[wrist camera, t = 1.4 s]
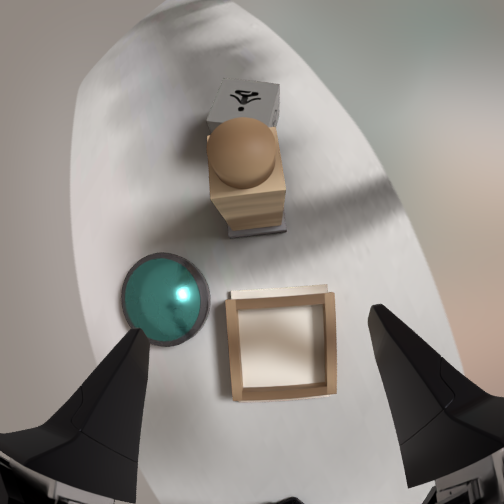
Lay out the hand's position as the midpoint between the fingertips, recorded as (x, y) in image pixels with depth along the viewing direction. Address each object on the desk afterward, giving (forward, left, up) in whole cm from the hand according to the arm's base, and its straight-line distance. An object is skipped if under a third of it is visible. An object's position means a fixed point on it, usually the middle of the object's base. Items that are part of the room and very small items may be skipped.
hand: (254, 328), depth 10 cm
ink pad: (+5, +7, -13) cm, 16 cm away
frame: (-4, +1, -13) cm, 14 cm away
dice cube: (+14, -8, -13) cm, 21 cm away
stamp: (+7, -4, -13) cm, 15 cm away
